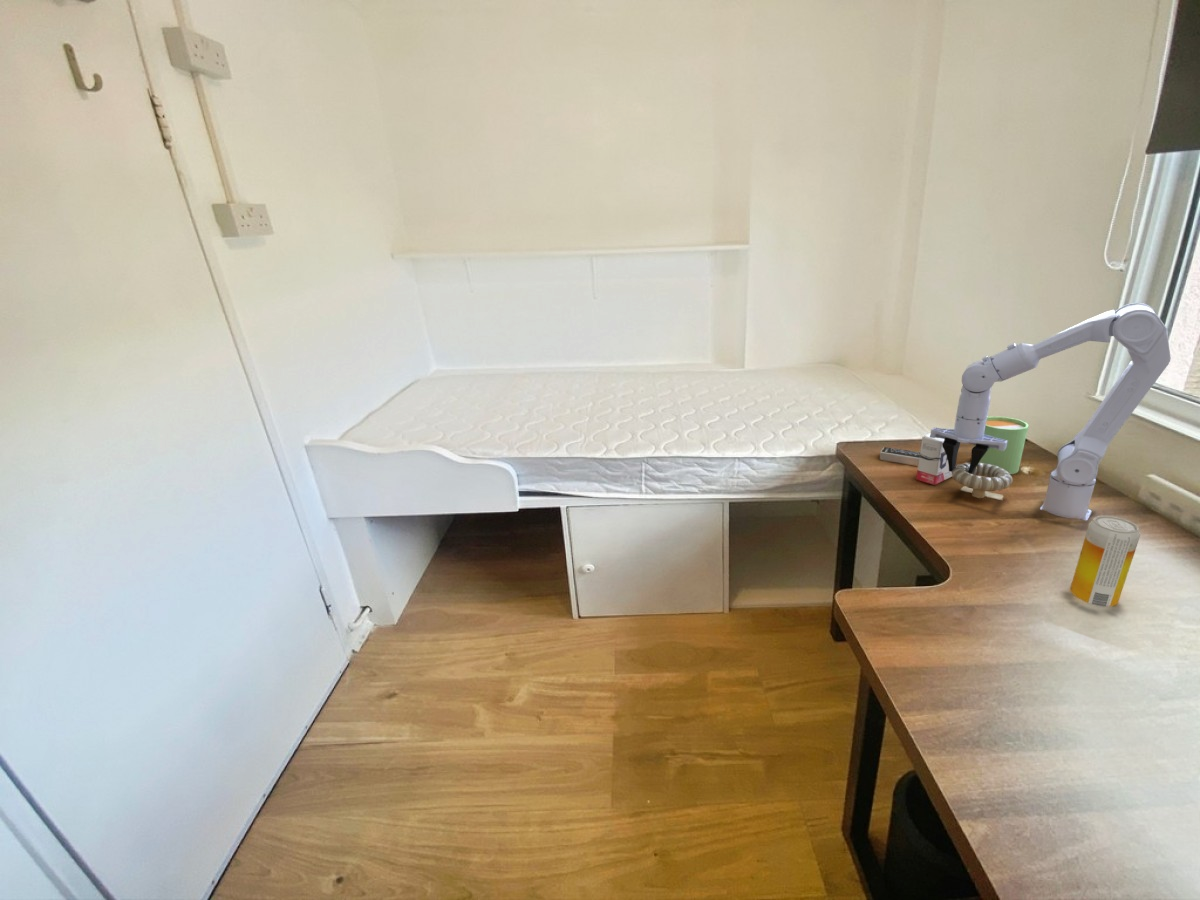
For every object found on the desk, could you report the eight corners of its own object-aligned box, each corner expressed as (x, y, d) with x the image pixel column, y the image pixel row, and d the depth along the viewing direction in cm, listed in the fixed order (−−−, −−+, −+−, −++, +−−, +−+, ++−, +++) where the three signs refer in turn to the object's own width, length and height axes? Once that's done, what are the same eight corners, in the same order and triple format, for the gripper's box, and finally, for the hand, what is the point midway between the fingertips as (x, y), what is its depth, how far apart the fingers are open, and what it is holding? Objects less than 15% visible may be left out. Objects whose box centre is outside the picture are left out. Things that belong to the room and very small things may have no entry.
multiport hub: (924, 467, 145) (925, 459, 144) (879, 459, 151) (880, 451, 150) (927, 461, 148) (928, 453, 147) (883, 454, 154) (883, 446, 154)
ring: (959, 468, 132) (962, 456, 131) (1016, 480, 124) (1019, 468, 123) (944, 484, 125) (946, 472, 124) (1003, 497, 117) (1005, 485, 116)
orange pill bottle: (1105, 593, 94) (1130, 516, 88) (1123, 616, 89) (1150, 535, 83) (1062, 588, 96) (1083, 512, 90) (1077, 610, 91) (1100, 531, 85)
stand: (962, 490, 132) (966, 468, 129) (1002, 499, 126) (1007, 477, 124) (951, 502, 127) (955, 480, 125) (992, 512, 121) (997, 489, 119)
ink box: (935, 485, 135) (942, 441, 130) (914, 479, 139) (921, 435, 134) (953, 476, 139) (961, 432, 134) (933, 470, 143) (940, 427, 138)
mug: (1029, 473, 137) (1040, 428, 133) (986, 476, 138) (995, 430, 133) (996, 454, 149) (1005, 412, 144) (957, 456, 149) (964, 414, 145)
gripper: (929, 415, 125) (920, 469, 129) (1005, 427, 114) (993, 486, 119) (939, 407, 129) (931, 460, 134) (1014, 418, 119) (1002, 475, 124)
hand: (961, 472), depth 127 cm, fingers closed on ring, 3 cm apart
